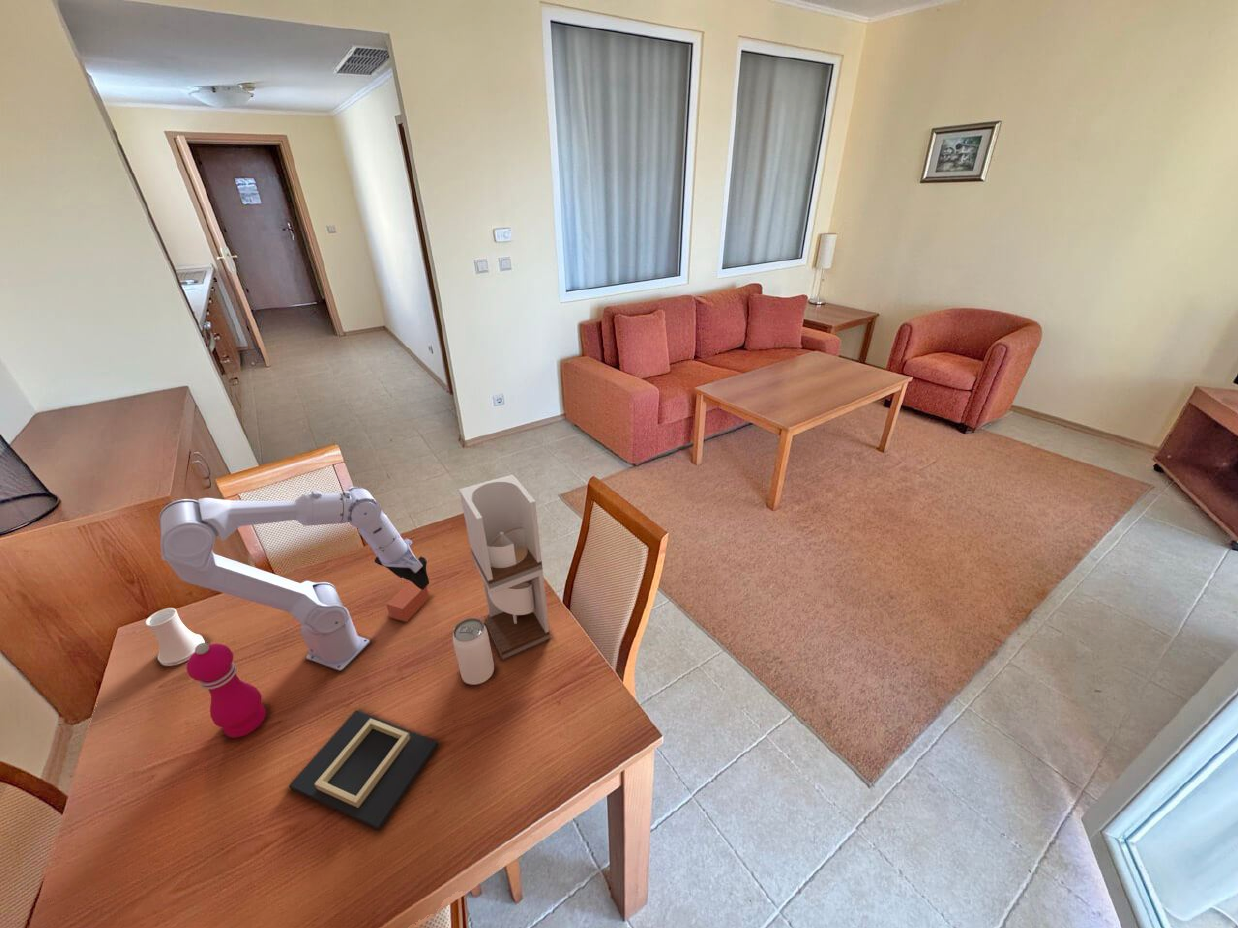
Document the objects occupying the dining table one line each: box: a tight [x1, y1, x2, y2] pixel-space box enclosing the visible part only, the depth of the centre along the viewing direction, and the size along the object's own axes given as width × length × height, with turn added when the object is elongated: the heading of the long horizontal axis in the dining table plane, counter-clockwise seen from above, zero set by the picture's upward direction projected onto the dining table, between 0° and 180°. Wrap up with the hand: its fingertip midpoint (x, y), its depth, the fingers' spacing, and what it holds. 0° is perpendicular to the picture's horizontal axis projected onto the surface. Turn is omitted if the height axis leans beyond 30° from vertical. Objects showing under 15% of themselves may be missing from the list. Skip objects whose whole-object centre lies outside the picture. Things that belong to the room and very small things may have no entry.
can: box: [452, 617, 495, 686], centre depth 96 cm, size 6×6×12 cm
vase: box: [145, 607, 206, 667], centre depth 102 cm, size 8×8×10 cm
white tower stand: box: [458, 474, 551, 660], centre depth 100 cm, size 11×11×35 cm
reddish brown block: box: [385, 580, 430, 623], centre depth 114 cm, size 5×8×4 cm, turn 160°
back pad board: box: [288, 709, 439, 831], centre depth 82 cm, size 18×14×2 cm
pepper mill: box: [186, 642, 267, 739], centre depth 85 cm, size 7×7×20 cm
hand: (414, 580), depth 109 cm, fingers open, 7 cm apart
